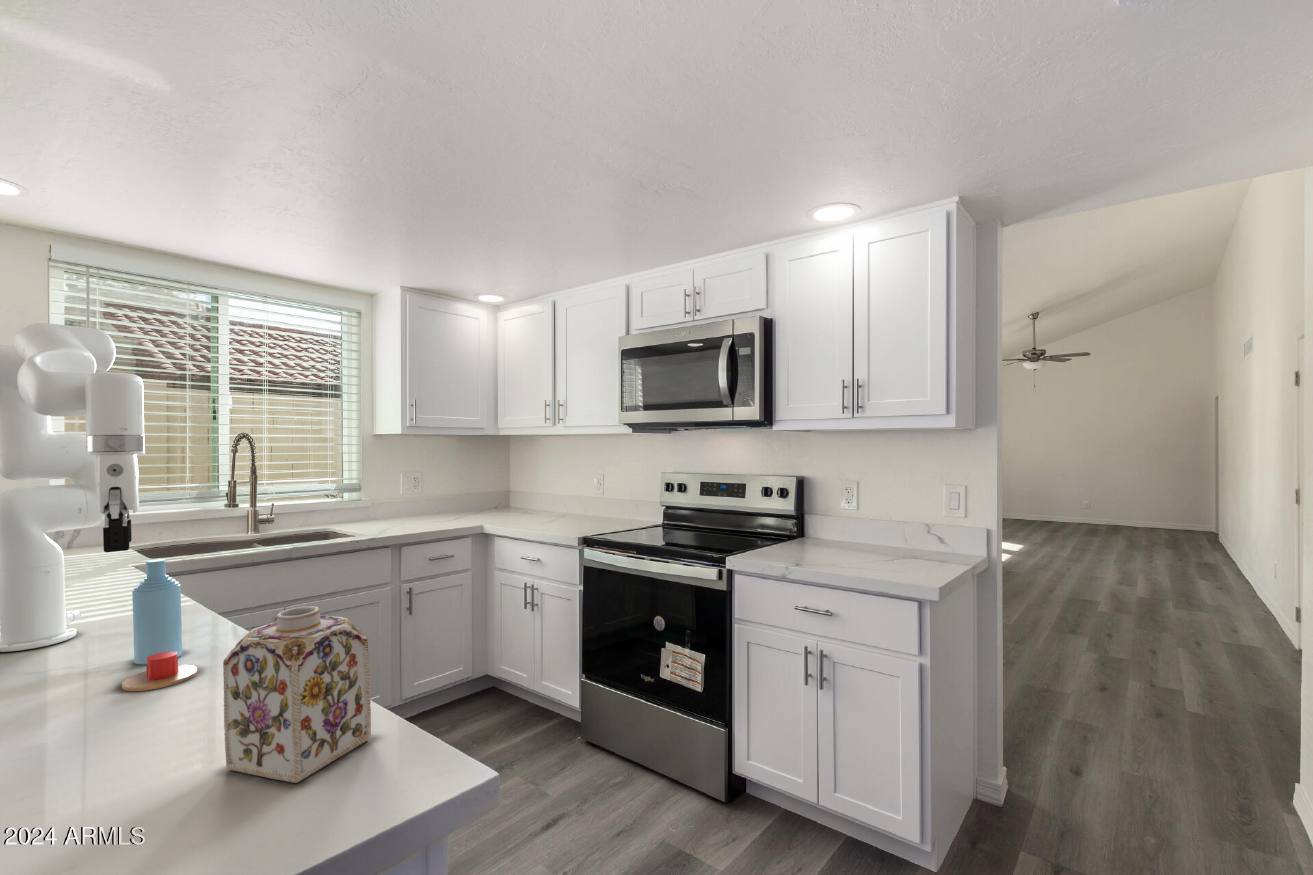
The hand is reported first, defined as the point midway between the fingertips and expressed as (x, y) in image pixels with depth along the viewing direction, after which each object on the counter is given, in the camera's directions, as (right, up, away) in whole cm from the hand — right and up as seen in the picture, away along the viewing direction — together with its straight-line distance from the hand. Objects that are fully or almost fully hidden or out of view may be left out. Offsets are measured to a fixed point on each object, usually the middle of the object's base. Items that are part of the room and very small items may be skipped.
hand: (118, 546), depth 108 cm
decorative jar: (+47, -21, -28) cm, 59 cm away
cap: (+8, -21, -1) cm, 23 cm away
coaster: (+8, -22, -1) cm, 23 cm away
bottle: (-1, -22, +10) cm, 24 cm away
